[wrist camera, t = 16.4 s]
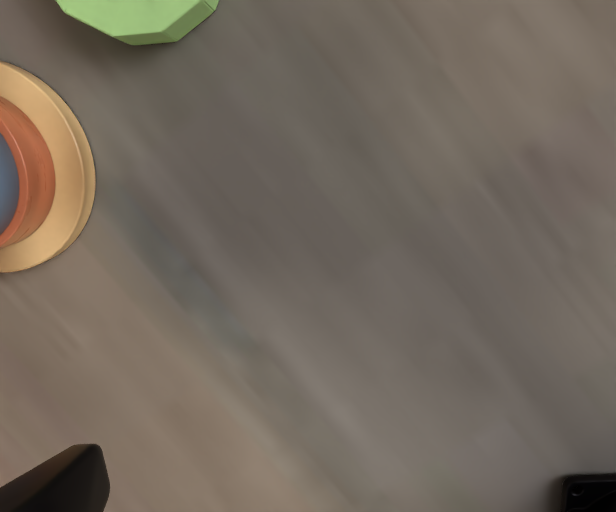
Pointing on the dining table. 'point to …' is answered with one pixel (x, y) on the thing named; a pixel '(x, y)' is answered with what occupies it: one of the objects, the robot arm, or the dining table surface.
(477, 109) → the dining table surface
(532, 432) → the dining table surface
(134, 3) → the green ring
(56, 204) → the ring stand
